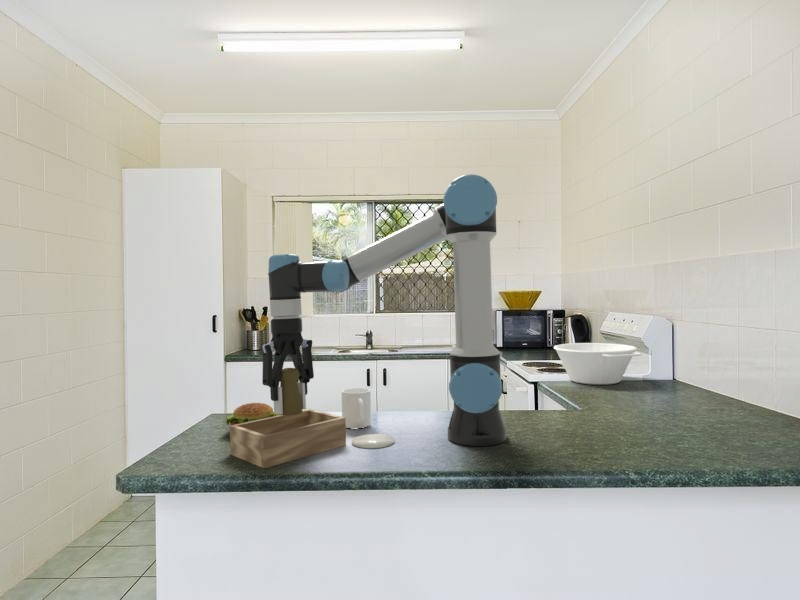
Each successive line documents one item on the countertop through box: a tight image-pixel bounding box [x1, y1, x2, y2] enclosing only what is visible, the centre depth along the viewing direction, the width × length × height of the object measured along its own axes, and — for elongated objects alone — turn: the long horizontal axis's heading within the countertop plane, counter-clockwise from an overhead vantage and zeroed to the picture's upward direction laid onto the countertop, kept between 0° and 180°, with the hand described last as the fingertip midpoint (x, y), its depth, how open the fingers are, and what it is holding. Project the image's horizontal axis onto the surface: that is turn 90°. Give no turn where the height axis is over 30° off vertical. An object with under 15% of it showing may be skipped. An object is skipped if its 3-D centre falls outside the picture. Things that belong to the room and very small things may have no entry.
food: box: [225, 402, 279, 426], centre depth 150 cm, size 14×14×8 cm
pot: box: [553, 342, 642, 386], centre depth 217 cm, size 40×32×14 cm
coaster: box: [351, 433, 396, 450], centre depth 137 cm, size 11×11×1 cm
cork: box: [278, 367, 303, 416], centre depth 132 cm, size 6×6×11 cm
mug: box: [341, 387, 372, 428], centre depth 152 cm, size 12×8×10 cm
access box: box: [229, 408, 347, 469], centre depth 132 cm, size 15×23×7 cm, turn 135°
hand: (290, 410), depth 132 cm, fingers closed on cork, 6 cm apart
